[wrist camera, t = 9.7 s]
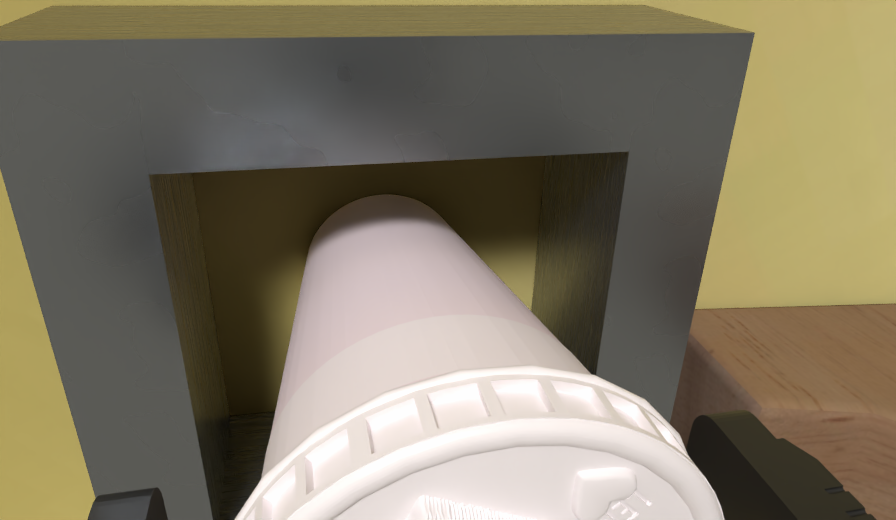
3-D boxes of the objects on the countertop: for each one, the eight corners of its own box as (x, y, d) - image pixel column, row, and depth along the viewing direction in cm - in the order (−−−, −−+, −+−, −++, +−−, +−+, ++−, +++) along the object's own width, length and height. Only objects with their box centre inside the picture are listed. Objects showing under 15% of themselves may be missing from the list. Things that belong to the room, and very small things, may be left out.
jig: (644, 5, 15) (754, 32, 11) (583, 428, 20) (645, 534, 17) (51, 5, 13) (-37, 40, 9) (160, 485, 18) (132, 622, 14)
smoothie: (466, 94, 15) (1259, 866, 3) (537, 317, 18) (1056, 1135, 6) (195, 202, 15) (-205, 1544, 3) (314, 408, 18) (385, 1454, 6)
